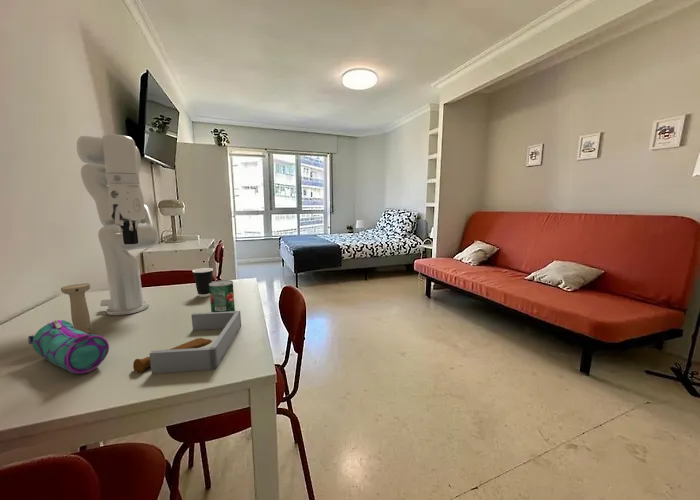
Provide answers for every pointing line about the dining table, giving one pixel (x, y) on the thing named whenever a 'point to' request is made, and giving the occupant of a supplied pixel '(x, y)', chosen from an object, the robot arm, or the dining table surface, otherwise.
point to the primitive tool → (144, 363)
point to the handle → (78, 306)
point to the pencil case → (69, 347)
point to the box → (199, 356)
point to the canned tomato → (222, 296)
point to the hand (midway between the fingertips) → (131, 243)
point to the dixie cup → (203, 280)
